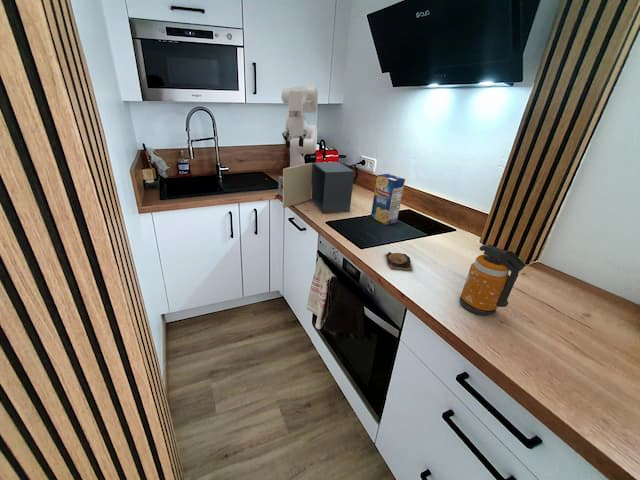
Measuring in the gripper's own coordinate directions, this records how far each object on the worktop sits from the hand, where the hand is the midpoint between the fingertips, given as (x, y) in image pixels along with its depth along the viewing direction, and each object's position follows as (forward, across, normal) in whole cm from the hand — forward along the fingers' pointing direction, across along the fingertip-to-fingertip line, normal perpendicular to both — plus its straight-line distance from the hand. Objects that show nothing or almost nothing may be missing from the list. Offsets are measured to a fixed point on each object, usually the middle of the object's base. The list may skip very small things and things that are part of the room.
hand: (294, 147), depth 158 cm
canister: (+30, +19, +107) cm, 112 cm away
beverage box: (+30, -16, +51) cm, 62 cm away
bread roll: (+30, +15, +78) cm, 85 cm away
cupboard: (+30, -9, +21) cm, 38 cm away
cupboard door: (+30, +4, +5) cm, 31 cm away
